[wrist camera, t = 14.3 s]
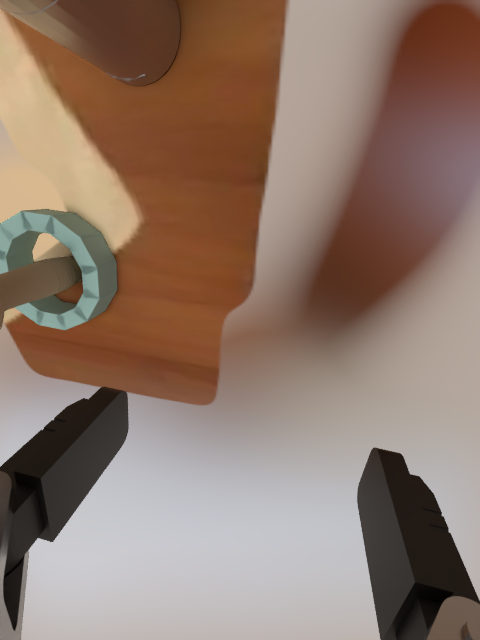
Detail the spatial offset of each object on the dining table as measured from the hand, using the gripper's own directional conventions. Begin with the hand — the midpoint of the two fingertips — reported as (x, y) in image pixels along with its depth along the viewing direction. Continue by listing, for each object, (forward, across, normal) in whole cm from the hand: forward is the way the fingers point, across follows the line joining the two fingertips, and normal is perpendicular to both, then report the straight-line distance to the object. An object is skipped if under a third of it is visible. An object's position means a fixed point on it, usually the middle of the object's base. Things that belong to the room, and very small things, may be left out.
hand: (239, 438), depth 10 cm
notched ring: (+28, +28, +5) cm, 40 cm away
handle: (+28, +26, +5) cm, 39 cm away
